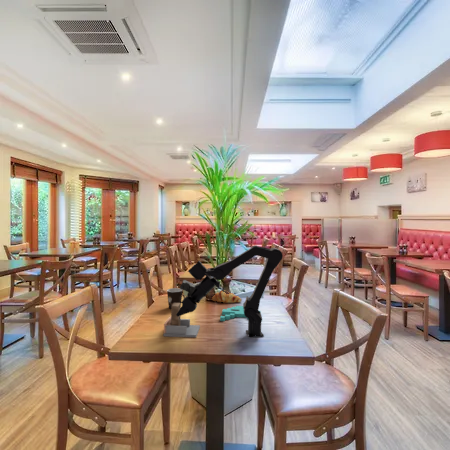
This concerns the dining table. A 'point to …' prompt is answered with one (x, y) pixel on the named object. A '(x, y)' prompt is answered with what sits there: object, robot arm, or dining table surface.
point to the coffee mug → (174, 296)
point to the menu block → (174, 310)
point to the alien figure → (232, 313)
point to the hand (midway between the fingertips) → (179, 312)
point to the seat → (180, 329)
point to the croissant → (226, 297)
